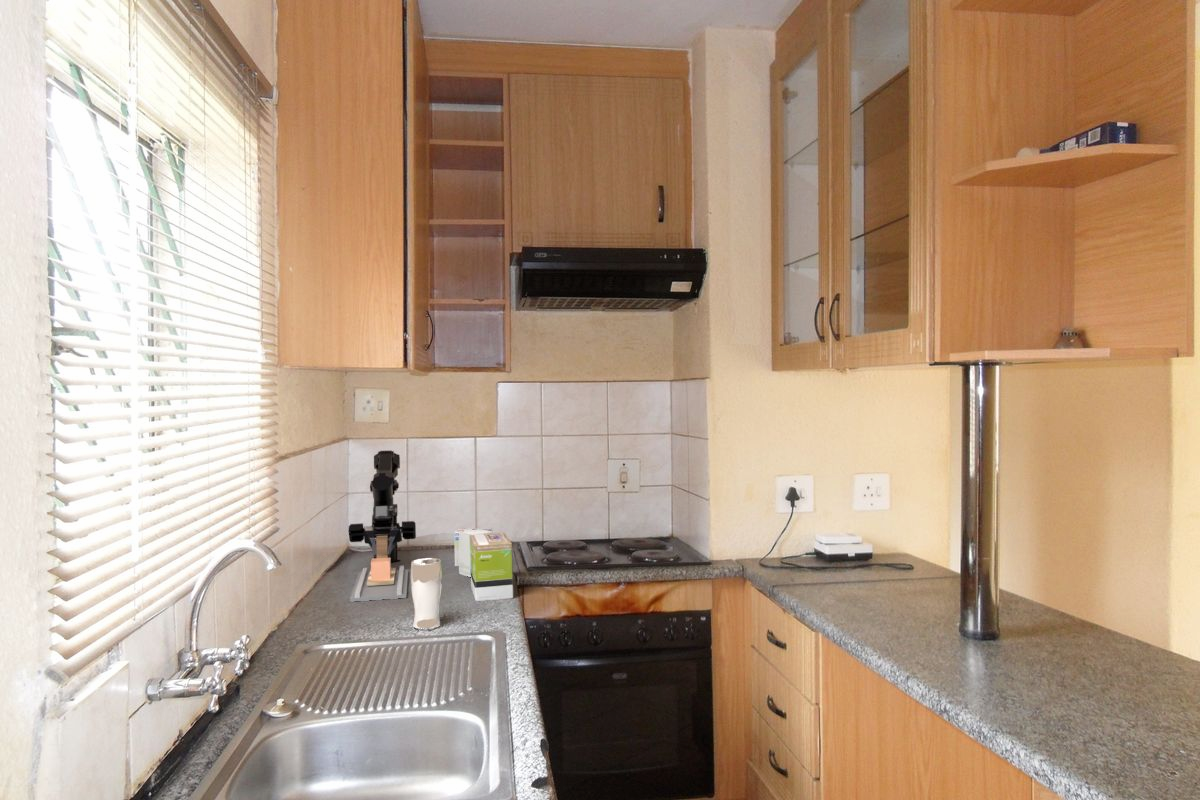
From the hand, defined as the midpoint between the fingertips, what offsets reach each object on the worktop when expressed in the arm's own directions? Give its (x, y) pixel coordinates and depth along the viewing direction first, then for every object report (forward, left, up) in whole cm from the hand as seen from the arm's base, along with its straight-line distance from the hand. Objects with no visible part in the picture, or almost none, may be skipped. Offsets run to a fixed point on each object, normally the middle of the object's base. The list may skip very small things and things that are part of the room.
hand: (382, 555), depth 221 cm
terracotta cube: (+4, +5, -5) cm, 8 cm away
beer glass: (+18, +46, -7) cm, 50 cm away
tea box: (-11, +35, -7) cm, 37 cm away
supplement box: (-22, +14, -7) cm, 27 cm away
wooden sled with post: (+1, +2, -6) cm, 6 cm away
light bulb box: (-30, +3, -7) cm, 31 cm away
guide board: (+4, +5, -7) cm, 10 cm away
